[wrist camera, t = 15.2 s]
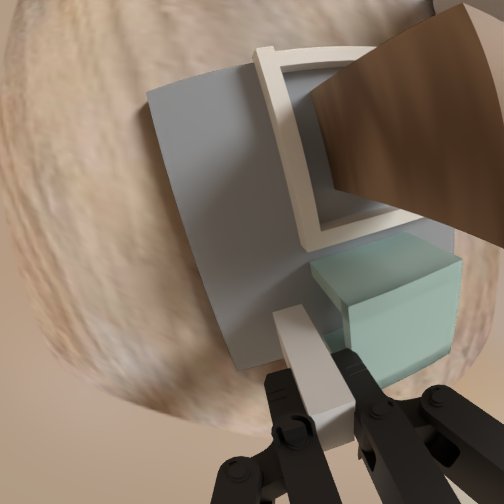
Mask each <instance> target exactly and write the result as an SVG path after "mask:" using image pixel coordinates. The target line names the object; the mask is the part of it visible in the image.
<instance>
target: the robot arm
mask: <svg viewBox="0 0 504 504" xmlns="http://www.w3.org/2000/svg"><path fill="white" fill-rule="evenodd" d="M272 313H273V317H274V321H275V325H276V329H277V333H278V337H279V341H280V345H281V348H282V352H283V356H284V359H285V362H286V365H287V369H284V370H280V371H277V372H273V373H270V374H267V376H266V379H265V382H264V387H265V391H266V396H267V400H268V405H269V409H270V414H271V418H272V423H273V426H272V433H271V435H272V437H273V442H272V443H271V445H270V446H269V447H268V448H267V449H265V450H264V451H262V452H261V453H259V454H257V455H255V456H253V457H251V458H249V457H243V456H239V457H233V458H231V459H229V460H226V461H225V462H224V463H223V464H222V465H221V467H220V469H219V471H218V474H217V478H216V483H215V487H214V491H213V495H212V499H211V503H210V504H275V499H276V498H278V497H280V496H281V495H283V494H285V493H288V497H289V501H290V504H342V502H341V499H340V496H339V493H338V491H337V488H336V485H335V482H334V480H333V477H332V474H331V471H330V469H329V466H328V463H327V460H326V458H325V455H324V451H327V450H329V449H332V448H335V447H338V446H341V445H344V444H346V443H349V442H352V441H354V436H355V437H356V439H357V441H358V443H359V448H358V459H359V460H360V459H361V457H362V459H363V461H364V463H365V465H366V468H367V470H368V472H369V474H370V476H371V479H372V481H373V483H374V485H375V487H376V490H377V492H378V494H379V496H380V498H381V501H382V503H383V504H461V503H460V501H459V499H458V498H457V496H456V494H455V493H454V491H453V489H452V488H451V486H450V484H449V483H448V481H447V479H446V478H445V476H446V477H448V478H449V479H450V480H451V481H452V482H453V483H454V484H456V485H457V486H458V487H459V488H460V489H461V490H463V491H464V492H465V493H466V494H467V495H468V496H470V497H471V498H472V499H473V500H474V501H476V502H477V503H478V504H504V424H502V423H501V422H499V421H498V420H496V419H495V418H493V417H492V416H490V415H489V414H488V413H486V412H485V411H483V410H482V409H480V408H479V407H478V406H476V405H475V404H473V403H472V402H470V401H469V400H467V399H466V398H464V397H463V396H462V395H460V394H458V393H457V392H456V391H454V390H453V389H451V388H450V387H448V386H445V385H434V386H431V387H429V388H428V389H426V390H425V391H424V393H423V394H422V397H419V398H414V399H409V400H401V401H400V400H394V399H392V398H390V397H388V396H386V395H385V394H384V393H383V391H382V390H381V388H380V387H379V385H378V384H377V382H376V381H375V379H374V378H373V376H372V375H371V373H370V372H369V370H367V367H366V366H365V364H364V363H363V361H362V360H361V358H360V357H359V355H358V354H357V353H356V352H354V351H352V350H351V349H349V348H346V349H343V350H341V351H338V352H335V353H332V354H330V353H329V352H328V350H327V348H326V346H325V344H324V343H323V341H322V339H321V337H320V336H319V334H318V332H317V330H316V328H315V327H314V325H313V323H312V321H311V320H310V318H309V316H308V314H307V312H306V311H305V309H304V307H303V305H302V304H299V305H296V306H292V307H289V308H285V309H282V310H279V311H275V312H272ZM444 475H445V476H444Z"/></svg>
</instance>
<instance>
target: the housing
mask: <svg viewBox="0 0 504 504" xmlns="http://www.w3.org/2000/svg"><path fill="white" fill-rule="evenodd" d="M309 263H310V268H311V273H312V276H313V278H314V279H315V280H316V281H317V283H318V284H319V285H320V286H321V288H322V289H323V290H324V292H325V293H326V294H327V295H328V297H329V298H330V299H331V301H332V302H333V303H334V304H335V306H336V307H337V308H338V310H339V311H340V312H341V314H342V320H343V328H342V329H339V330H337V331H334V332H331V333H328V334H325V335H322V338H323V343H324V344H325V346H326V348H327V350H328V352H329V353H330V354H332V353H335V352H338V351H341V350H343V349H346V348H349V349H351V350H352V351H354V352H356V353H357V354H358V355H359V357H360V358H361V360H362V361H363V363H364V364H365V366H366V367H367V370H369V372H370V373H371V375H372V376H373V378H374V379H375V381H376V382H377V384H378V385H379V387H380V388H381V389H383V388H385V387H388V386H390V385H392V384H394V383H396V382H398V381H400V380H402V379H404V378H406V377H408V376H410V375H412V374H414V373H416V372H418V371H420V370H421V369H423V368H425V367H427V366H429V365H430V364H432V363H434V362H436V361H437V360H439V359H441V358H442V357H444V356H446V355H447V354H449V353H450V350H451V345H452V340H453V335H454V330H455V324H456V318H457V312H458V304H459V297H460V288H461V277H462V264H463V259H462V258H460V257H458V256H456V255H454V254H452V253H450V252H448V251H446V250H444V249H442V248H440V247H437V246H435V245H433V244H431V243H429V242H427V241H425V240H423V239H421V238H418V237H416V236H414V235H412V234H410V233H407V232H402V233H399V234H396V235H393V236H390V237H387V238H384V239H381V240H378V241H374V242H371V243H368V244H365V245H362V246H359V247H355V248H352V249H349V250H346V251H343V252H339V253H336V254H333V255H330V256H326V257H323V258H320V259H316V260H313V261H310V262H309Z"/></svg>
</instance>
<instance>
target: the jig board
mask: <svg viewBox="0 0 504 504" xmlns="http://www.w3.org/2000/svg"><path fill="white" fill-rule="evenodd" d="M374 48H376V47H372V46H330V47H311V48H299V49H289V50H281V51H275V50H274V47H273V46H268V47H261V48H255V51H254V54H253V57H252V58H253V61H254V63H250V64H245V65H240V66H235V67H230V68H226V69H221V70H217V71H213V72H209V73H205V74H201V75H198V76H194V77H191V78H187V79H184V80H181V81H177V82H174V83H171V84H168V85H165V86H162V87H159V88H156V89H154V90H151V91H148V92H146V94H147V99H148V103H149V107H150V111H151V115H152V119H153V123H154V127H155V130H156V134H157V138H158V142H159V145H160V149H161V153H162V156H163V160H164V163H165V167H166V170H167V174H168V177H169V181H170V184H171V187H172V191H173V194H174V197H175V201H176V204H177V207H178V210H179V213H180V217H181V220H182V223H183V226H184V229H185V232H186V235H187V238H188V241H189V244H190V247H191V250H192V253H193V256H194V259H195V262H196V265H197V267H198V270H199V273H200V276H201V279H202V282H203V284H204V287H205V290H206V293H207V295H208V298H209V301H210V303H211V306H212V309H213V312H214V314H215V317H216V319H217V322H218V325H219V327H220V330H221V332H222V335H223V337H224V340H225V342H226V345H227V347H228V350H229V352H230V355H231V357H232V360H233V362H234V365H235V367H236V369H237V371H240V370H244V369H248V368H252V367H255V366H259V365H263V364H267V363H270V362H274V361H277V360H281V359H284V356H283V352H282V348H281V345H280V341H279V337H278V333H277V329H276V325H275V321H274V317H273V313H272V312H275V311H279V310H282V309H285V308H289V307H292V306H296V305H299V304H302V305H303V307H304V309H305V311H306V312H307V314H308V316H309V318H310V320H311V321H312V323H313V325H314V327H315V328H316V330H317V332H318V334H319V336H320V337H321V339H322V341H323V338H322V335H325V334H328V333H331V332H334V331H337V330H339V329H342V328H343V320H342V314H341V312H340V311H339V310H338V308H337V307H336V306H335V304H334V303H333V302H332V301H331V299H330V298H329V297H328V295H327V294H326V293H325V292H324V290H323V289H322V288H321V286H320V285H319V284H318V283H317V281H316V280H315V279H314V278H313V276H312V273H311V268H310V263H309V262H310V261H313V260H316V259H320V258H323V257H326V256H330V255H333V254H336V253H339V252H343V251H346V250H349V249H352V248H355V247H359V246H362V245H365V244H368V243H371V242H374V241H378V240H381V239H384V238H387V237H390V236H393V235H396V234H399V233H402V232H407V233H410V234H412V235H414V236H416V237H418V238H421V239H423V240H425V241H427V242H429V243H431V244H433V245H435V246H437V247H440V248H442V249H444V250H446V251H448V252H450V253H452V254H454V228H453V227H450V226H448V225H445V224H442V223H440V222H437V221H434V220H431V219H428V218H426V217H423V216H420V215H417V214H414V213H411V212H408V211H405V210H402V209H399V208H396V207H393V206H390V205H387V204H383V203H380V202H377V201H373V200H370V199H367V198H363V197H360V196H356V195H353V194H349V193H346V192H342V191H338V190H335V189H334V185H333V180H332V176H331V171H330V167H329V162H328V158H327V154H326V150H325V146H324V142H323V138H322V134H321V130H320V126H319V123H318V119H317V115H316V112H315V108H314V105H313V102H312V98H311V95H310V91H312V90H313V89H314V88H316V87H317V86H319V85H320V84H321V83H323V82H324V81H326V80H327V79H328V78H330V77H331V76H333V75H334V74H336V73H337V72H339V71H340V70H342V69H343V68H345V67H346V66H348V65H349V64H351V63H352V62H354V61H355V60H357V59H358V58H360V57H362V56H363V55H365V54H366V53H368V52H370V51H371V50H373V49H374Z"/></svg>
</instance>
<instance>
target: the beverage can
mask: <svg viewBox="0 0 504 504" xmlns="http://www.w3.org/2000/svg"><path fill="white" fill-rule="evenodd" d="M460 3H465V4H467V5H469V6H472V7H474V8H476V9H478V10H480V11H483V12H485V13H487V14H489V15H491V16H493V17H495V18H496V19H498V20H500V21H502V22H504V0H433V6H434V10H435V14H439V13H441V12H443V11H445V10H447V9H449V8H451V7H454V6H456V5H458V4H460Z"/></svg>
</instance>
